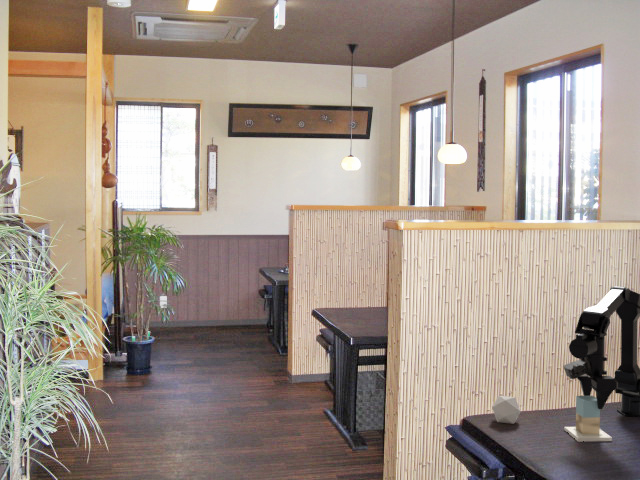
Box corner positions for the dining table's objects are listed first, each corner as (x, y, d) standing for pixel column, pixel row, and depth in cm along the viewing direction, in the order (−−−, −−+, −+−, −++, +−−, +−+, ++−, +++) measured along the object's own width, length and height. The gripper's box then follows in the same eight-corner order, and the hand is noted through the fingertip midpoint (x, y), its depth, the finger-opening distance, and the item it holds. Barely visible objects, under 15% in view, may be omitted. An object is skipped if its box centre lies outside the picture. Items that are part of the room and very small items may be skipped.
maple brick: (575, 428, 210) (576, 412, 210) (592, 428, 210) (592, 412, 210) (582, 434, 205) (583, 417, 205) (599, 434, 205) (599, 417, 205)
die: (523, 421, 222) (508, 393, 227) (528, 415, 215) (512, 387, 219) (499, 431, 222) (485, 403, 226) (503, 426, 214) (489, 397, 218)
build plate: (564, 430, 212) (564, 426, 212) (596, 429, 213) (596, 425, 213) (578, 441, 202) (578, 437, 202) (611, 440, 203) (612, 436, 203)
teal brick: (575, 412, 210) (576, 395, 209) (592, 412, 210) (592, 395, 209) (583, 417, 205) (583, 400, 204) (599, 417, 205) (600, 400, 204)
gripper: (555, 346, 216) (554, 395, 218) (580, 360, 198) (579, 415, 199) (590, 345, 217) (589, 394, 218) (619, 359, 198) (618, 413, 199)
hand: (593, 404), depth 209 cm, fingers open, 9 cm apart
